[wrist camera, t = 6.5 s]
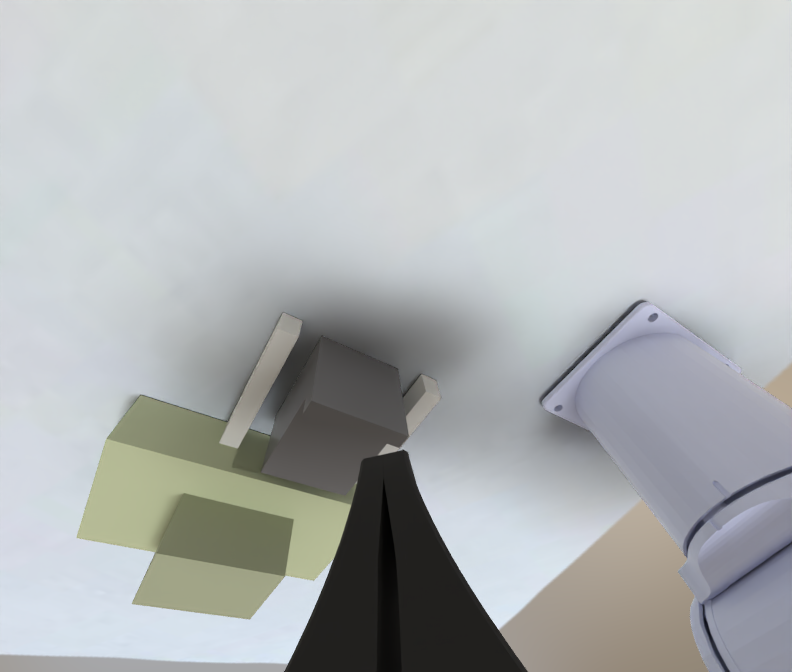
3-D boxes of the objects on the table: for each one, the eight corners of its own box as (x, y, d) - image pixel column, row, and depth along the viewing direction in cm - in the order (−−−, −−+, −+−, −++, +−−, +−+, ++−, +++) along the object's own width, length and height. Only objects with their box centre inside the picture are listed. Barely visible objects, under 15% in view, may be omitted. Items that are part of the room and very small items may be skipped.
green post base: (443, 383, 20) (472, 473, 15) (317, 536, 27) (308, 634, 22) (183, 267, 15) (97, 341, 10) (108, 489, 22) (33, 601, 17)
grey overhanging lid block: (397, 367, 19) (409, 436, 15) (347, 437, 22) (344, 513, 18) (322, 334, 18) (311, 400, 14) (276, 413, 20) (255, 491, 16)
